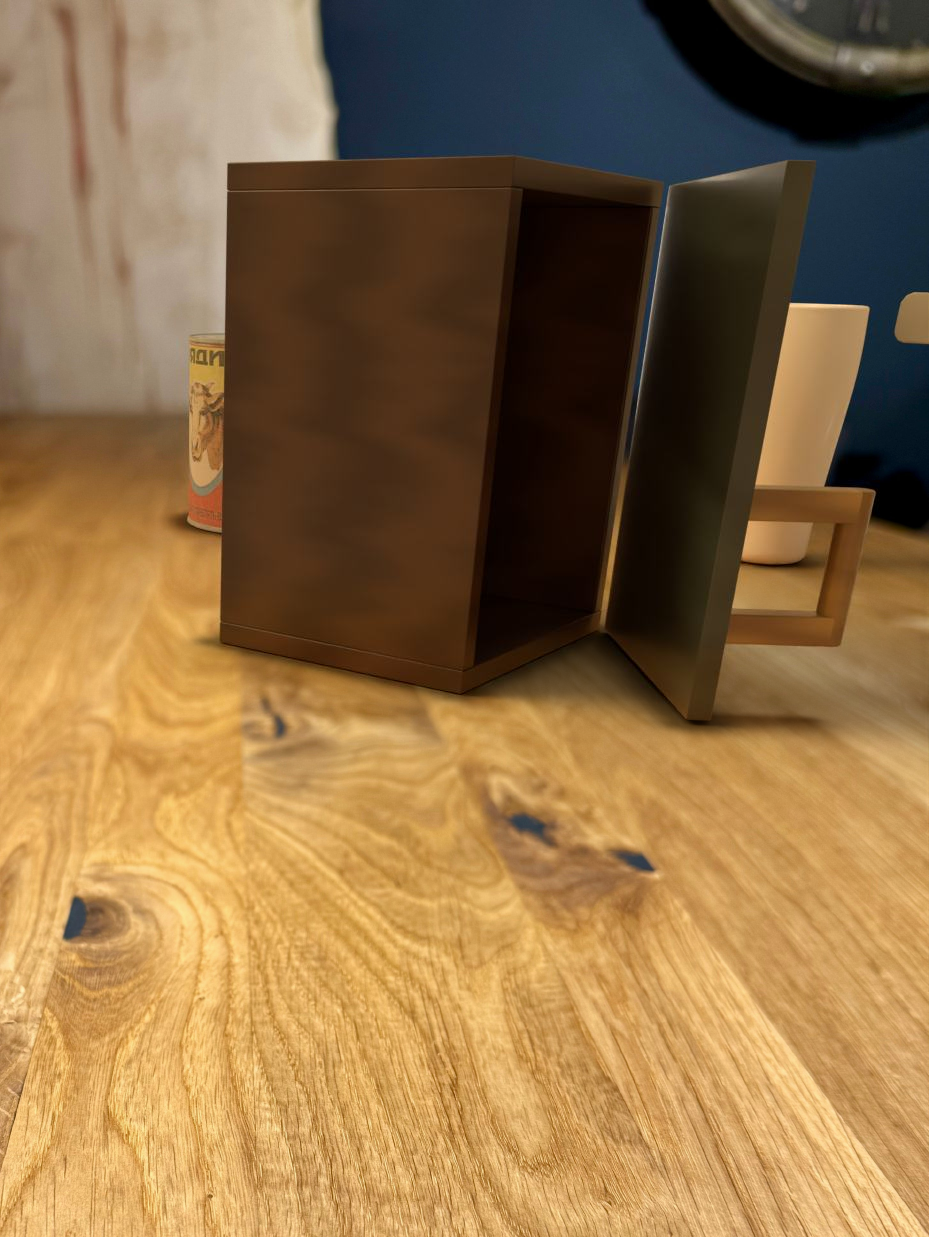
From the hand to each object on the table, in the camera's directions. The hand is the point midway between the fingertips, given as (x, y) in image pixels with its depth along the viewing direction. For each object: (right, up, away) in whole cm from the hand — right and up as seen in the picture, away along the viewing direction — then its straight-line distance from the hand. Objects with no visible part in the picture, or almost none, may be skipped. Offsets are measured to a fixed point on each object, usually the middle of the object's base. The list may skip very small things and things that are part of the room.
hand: (905, 316), depth 53 cm
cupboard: (-18, -10, +12) cm, 24 cm away
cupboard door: (-6, -13, +7) cm, 16 cm away
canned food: (-25, +4, +40) cm, 47 cm away
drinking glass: (+7, -1, +33) cm, 33 cm away
